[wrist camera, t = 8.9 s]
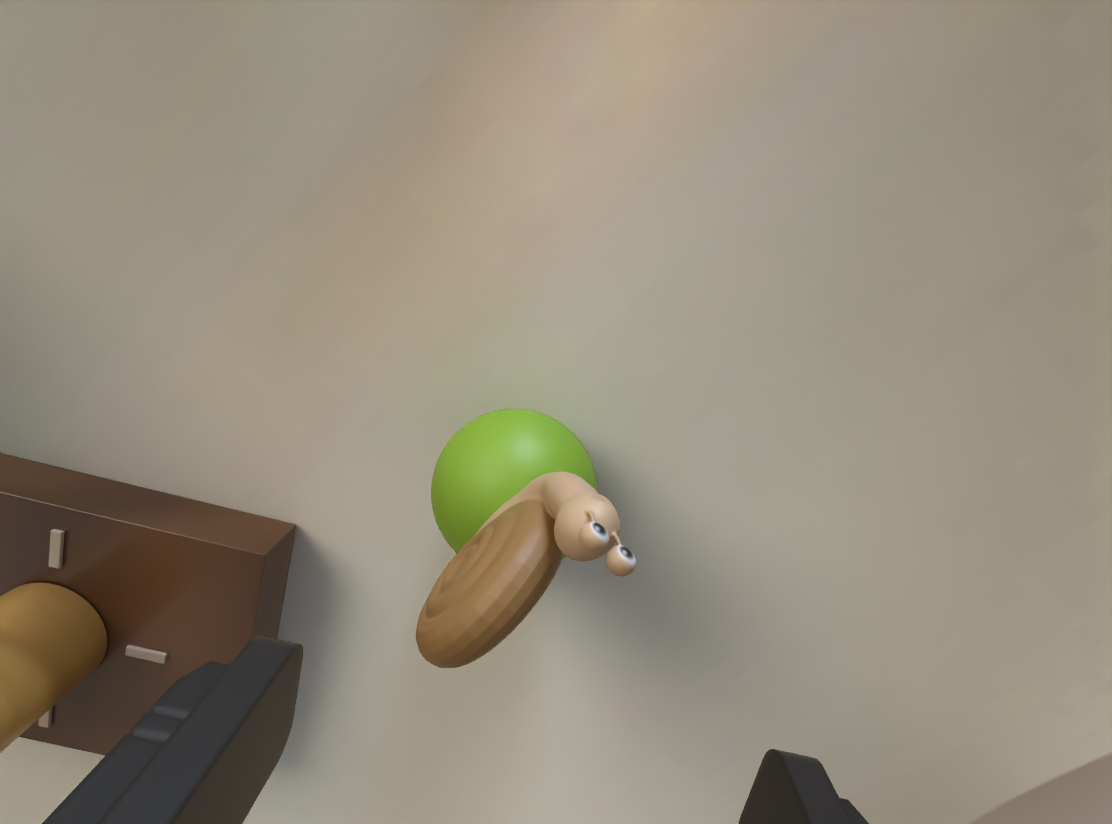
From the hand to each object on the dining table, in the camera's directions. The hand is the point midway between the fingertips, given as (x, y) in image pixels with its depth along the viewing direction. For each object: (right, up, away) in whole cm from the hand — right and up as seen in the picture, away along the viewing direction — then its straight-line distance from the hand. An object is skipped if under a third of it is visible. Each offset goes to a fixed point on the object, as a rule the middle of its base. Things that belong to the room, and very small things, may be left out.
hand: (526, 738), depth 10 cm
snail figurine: (-1, +4, +13) cm, 13 cm away
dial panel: (-18, -2, +14) cm, 23 cm away
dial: (-18, -2, +11) cm, 21 cm away
